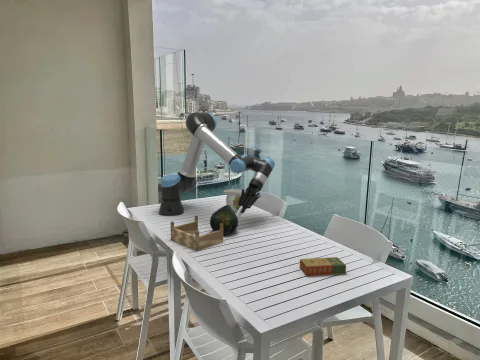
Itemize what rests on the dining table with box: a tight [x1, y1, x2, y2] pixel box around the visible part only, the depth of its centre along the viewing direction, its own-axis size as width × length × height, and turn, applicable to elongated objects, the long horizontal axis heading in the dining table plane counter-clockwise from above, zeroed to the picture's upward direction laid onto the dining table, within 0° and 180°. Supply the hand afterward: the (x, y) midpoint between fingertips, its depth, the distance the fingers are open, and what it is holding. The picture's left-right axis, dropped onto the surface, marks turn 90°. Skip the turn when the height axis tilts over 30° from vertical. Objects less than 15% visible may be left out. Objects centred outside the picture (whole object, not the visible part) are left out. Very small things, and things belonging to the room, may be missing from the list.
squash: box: [209, 204, 239, 235], centre depth 181 cm, size 14×15×15 cm
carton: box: [299, 256, 347, 277], centre depth 138 cm, size 8×16×4 cm, turn 99°
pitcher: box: [223, 188, 242, 213], centre depth 222 cm, size 11×18×14 cm, turn 122°
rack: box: [169, 214, 224, 251], centre depth 169 cm, size 20×16×9 cm
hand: (237, 217), depth 186 cm, fingers closed
